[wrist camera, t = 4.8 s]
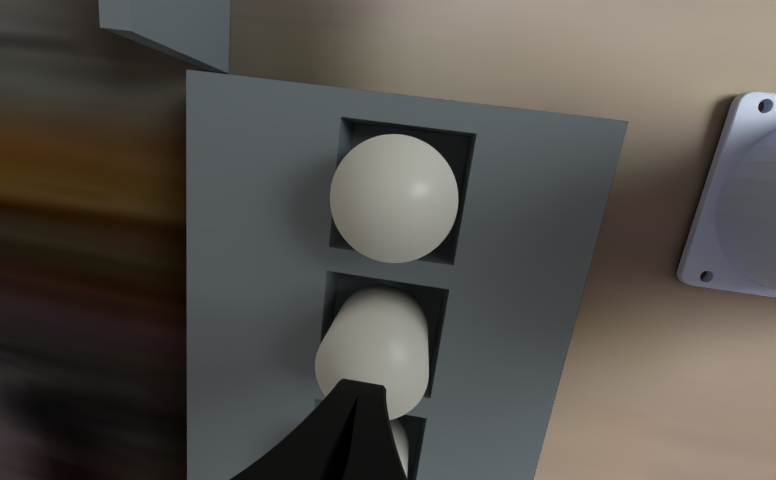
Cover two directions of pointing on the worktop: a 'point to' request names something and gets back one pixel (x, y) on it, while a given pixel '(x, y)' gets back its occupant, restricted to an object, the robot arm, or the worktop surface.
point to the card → (174, 28)
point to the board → (383, 267)
